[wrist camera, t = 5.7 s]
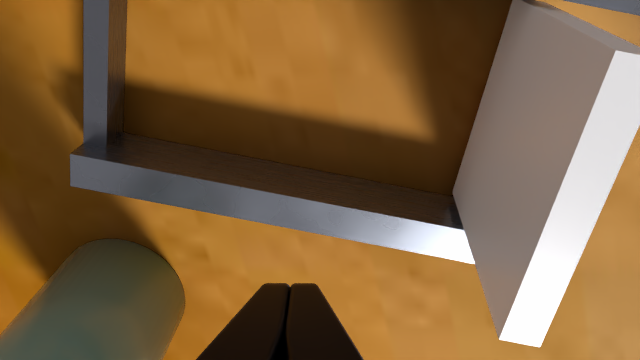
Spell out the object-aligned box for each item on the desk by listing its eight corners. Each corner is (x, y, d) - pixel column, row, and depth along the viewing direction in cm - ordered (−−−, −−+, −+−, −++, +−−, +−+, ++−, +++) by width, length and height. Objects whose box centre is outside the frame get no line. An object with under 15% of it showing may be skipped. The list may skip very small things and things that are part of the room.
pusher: (544, 2, 18) (668, 60, 11) (478, 197, 21) (539, 347, 14) (513, -4, 18) (616, 50, 11) (452, 192, 21) (498, 339, 14)
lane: (633, -35, 17) (673, -27, 15) (526, 239, 22) (545, 277, 19) (105, -140, 17) (66, -148, 15) (101, 157, 22) (70, 185, 19)
